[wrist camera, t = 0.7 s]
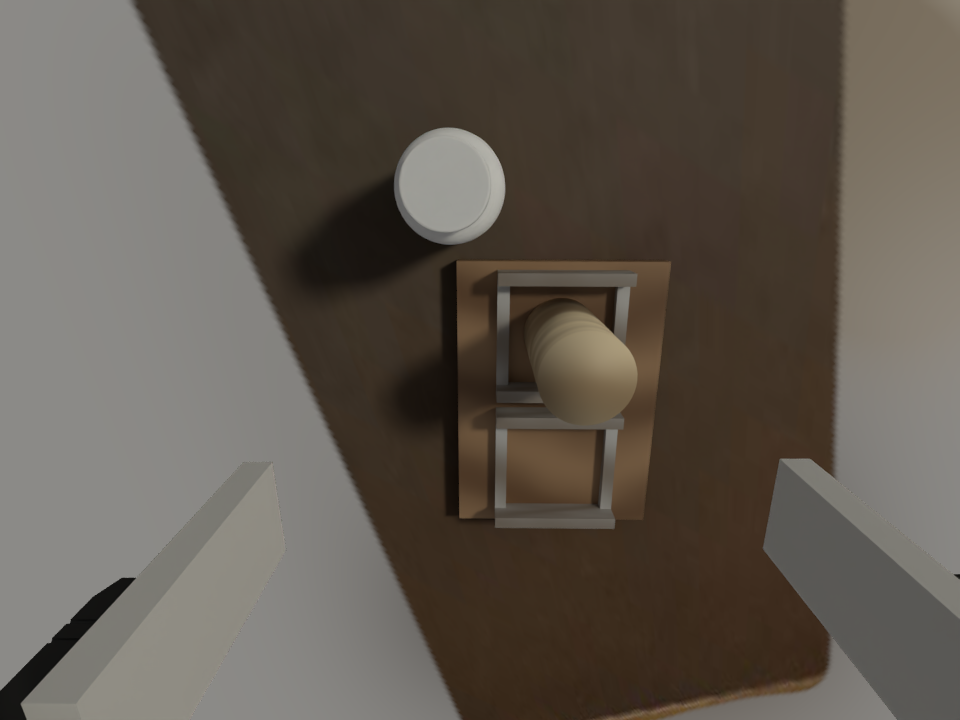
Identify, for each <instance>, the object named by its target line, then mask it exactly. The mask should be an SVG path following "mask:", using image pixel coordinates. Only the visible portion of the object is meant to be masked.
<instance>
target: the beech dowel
mask: <svg viewBox="0 0 960 720" xmlns="http://www.w3.org/2000/svg"><path fill="white" fill-rule="evenodd" d="M524 342H525V345H526V349H527V352H528V356H529V359H530V363H531V366H532V370H533V373H534V377H535V380H536V383H537V387H538V390H539V394H540V397H541V399H542V401H543V403H544V404H545V406H546V407H547V409H548V410H549V411H550V412H551V413H552V414H553V415H555V416H556V417H557V418H559V419H561V420H563V421H565V422H567V423H570V424H574V425H582V426H587V425H595V424H599V423H603V422H605V421H608V420H610V419H611V418H613V417H615V416H616V415H617V414H619V413H620V412H621V411H622V410H623V409H624V408H625V407H626V406H627V405H628V403H629V402H630V400H631V399H632V397H633V394H634V392H635V389H636V385H637V375H638V374H637V367H636V363H635V360H634V358H633V356H632V354H631V352H630V351H629V349H628V348H627V347H626V346H625V345H624V344H623V343H622V342H621V341H620V340H619V339H618V338H617V337H616V336H615V335H614V334H613V333H612V332H611V331H610V330H609V329H608V328H607V327H606V326H605V325H604V324H603V323H602V322H601V321H600V320H599V319H598V318H597V317H596V316H595V315H594V314H593V313H592V312H591V311H590V310H589V309H588V308H586V307H585V306H584V305H583V304H581V303H580V302H578V301H576V300H573V299H569V298H554V299H550V300H547V301H545V302H543V303H541V304H540V305H538V306H537V307H536V308H535V309H534V310H533V311H532V312H531V314H530V315H529V317H528V319H527V321H526V324H525V327H524Z"/></svg>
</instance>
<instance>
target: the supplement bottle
mask: <svg viewBox="0 0 960 720" xmlns="http://www.w3.org/2000/svg"><path fill="white" fill-rule="evenodd" d="M394 193H395V199H396V203H397V206H398V209H399V211H400V213H401V215H402V217H403V218H404V220H405V221H406V223H407V224H408V225H409V226H410V227H411V228H412V229H413V230H414V231H415V232H416V233H417V234H419V235H420V236H422V237H424V238H425V239H428V240H430V241H432V242H435V243H439V244H445V245H454V244H462V243H466V242H469V241H471V240H473V239H475V238H477V237H479V236H480V235H482V234H483V233H484V232H486V231H487V230H488V229H489V228H490V227H491V226H492V224H493V223H494V222H495V220H496V219H497V217H498V215H499V213H500V211H501V208H502V205H503V202H504V197H505V179H504V174H503V170H502V167H501V164H500V162H499V160H498V158H497V156H496V154H495V153H494V152H493V150H492V149H491V148H490V147H489V145H488V144H487V143H486V142H484V141H483V140H482V139H481V138H479V137H478V136H476V135H474V134H472V133H470V132H468V131H465V130H462V129H457V128H439V129H435V130H432V131H429V132H427V133H425V134H423V135H421V136H420V137H418V138H417V139H416V140H414V141H413V142H412V143H411V144H410V145H409V146H408V147H407V149H406V150H405V151H404V153H403V154H402V156H401V158H400V160H399V162H398V165H397V168H396V172H395V178H394Z"/></svg>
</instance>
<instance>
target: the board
mask: <svg viewBox="0 0 960 720" xmlns="http://www.w3.org/2000/svg"><path fill="white" fill-rule="evenodd" d="M670 268H671V262H669V261H666V260H498V259H458V260H457V344H458V436H459V518H489V519H495V528H576V529H614V527H615V520H643V516H644V506H645V497H646V488H647V479H648V470H649V460H650V451H651V442H652V433H653V424H654V415H655V405H656V396H657V387H658V378H659V369H660V359H661V350H662V341H663V332H664V323H665V314H666V304H667V295H668V286H669V277H670ZM554 298H569V299H573V300H576V301H578V302H580V303H581V304H583V305H584V306H585V307H586V308H588V309H589V310H590V311H591V312H592V313H593V314H594V315H595V316H596V317H597V318H598V319H599V320H600V321H601V322H602V323H603V324H604V325H605V326H606V327H607V328H608V329H609V330H610V331H611V332H612V333H613V334H614V335H615V336H616V337H617V338H618V339H619V340H620V341H621V342H622V343H623V344H624V345H625V346H626V347H627V348H628V349H629V351H630V352H631V354H632V356H633V358H634V360H635V363H636V367H637V374H638V375H637V385H636V389H635V392H634V394H633V397H632V399H631V400H630V402H629V403H628V405H627V406H626V407H625V408H624V409H623V410H622V411H621V412H620V413H619V414H617V415H616V416H615V417H613V418H611V419H610V420H608V421H605V422H603V423H599V424H595V425H587V426H582V425H574V424H570V423H567V422H565V421H563V420H561V419H559V418H557V417H556V416H555V415H553V414H552V413H551V412H550V411H549V410H548V409H547V407H546V406H545V404H544V403H543V401H542V399H541V397H540V394H539V390H538V387H537V383H536V380H535V377H534V373H533V370H532V366H531V363H530V359H529V356H528V352H527V349H526V345H525V342H524V327H525V324H526V321H527V319H528V317H529V315H530V314H531V312H532V311H533V310H534V309H535V308H536V307H537V306H538V305H540V304H541V303H543V302H545V301H547V300H550V299H554Z"/></svg>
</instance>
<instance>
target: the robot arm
mask: <svg viewBox="0 0 960 720" xmlns="http://www.w3.org/2000/svg"><path fill="white" fill-rule="evenodd" d="M763 550H764V551H765V552H766V553H767V555H768V556H769V557H770V559H771V560H772V561H773V562H774V564H775V565H776V566H777V567H778V569H779V570H780V571H781V572H782V574H783V575H784V576H785V578H786V579H787V580H788V581H789V583H790V584H791V585H792V586H793V588H794V589H795V590H796V592H797V593H798V594H799V595H800V597H801V598H802V599H803V600H804V602H805V603H806V604H807V606H808V607H809V608H810V609H811V611H812V612H813V613H814V614H815V616H816V617H817V618H818V619H819V621H820V622H821V623H822V625H823V626H824V627H825V628H826V630H827V631H828V632H829V633H830V635H831V636H832V637H833V639H834V640H835V641H836V642H837V644H838V645H839V646H840V647H841V649H842V650H843V651H844V652H845V654H846V655H847V656H848V658H849V659H850V660H851V661H852V663H853V664H854V665H855V666H856V668H857V669H858V670H859V671H860V673H861V674H862V675H863V677H864V678H865V679H866V680H867V682H868V683H869V684H870V686H871V687H872V688H873V689H874V691H875V692H876V693H877V694H878V696H879V697H880V698H881V699H882V701H883V702H884V703H885V705H886V706H887V707H888V708H889V710H890V711H891V712H892V714H893V715H894V716H895V717H896V719H897V720H960V574H952V573H951V572H950V571H948V570H947V569H946V568H945V567H943V566H942V565H941V564H940V563H938V562H937V561H936V560H935V559H933V558H932V557H931V556H930V555H929V554H927V553H926V552H925V551H924V550H922V549H921V548H920V547H919V546H917V545H916V544H915V543H914V542H912V541H911V540H910V539H909V538H907V537H906V536H905V535H904V534H902V533H901V532H900V531H899V530H897V529H896V528H895V527H894V526H893V525H891V524H890V523H889V522H888V521H886V520H885V519H884V518H882V517H881V516H880V515H879V514H878V513H876V512H875V511H874V510H873V509H871V508H870V507H869V506H868V505H866V504H865V503H864V502H863V501H862V500H860V499H859V498H858V497H857V496H855V495H854V494H853V493H852V492H850V491H849V490H848V489H847V488H845V487H844V486H843V485H842V484H841V483H839V482H838V481H837V480H836V479H834V478H833V477H832V476H831V475H829V474H828V473H827V472H826V471H824V470H823V469H822V468H821V467H819V466H818V465H817V464H816V463H815V462H813V461H812V460H811V459H780V461H779V466H778V471H777V477H776V482H775V487H774V493H773V498H772V503H771V509H770V514H769V520H768V525H767V530H766V536H765V541H764V546H763ZM285 551H286V546H285V539H284V533H283V527H282V520H281V514H280V508H279V501H278V495H277V488H276V482H275V475H274V469H273V463H272V462H243V463H242V464H241V465H240V466H239V467H238V468H237V470H236V471H235V472H234V473H233V474H232V475H231V476H230V477H229V478H228V479H227V481H225V483H224V484H223V485H222V486H221V487H220V488H219V489H218V490H217V491H216V493H214V494H213V496H212V497H211V498H210V499H209V500H208V501H207V502H206V503H205V504H204V505H203V506H202V507H201V509H200V510H199V511H198V512H197V513H196V514H195V515H194V516H193V517H192V518H191V519H190V521H189V522H188V523H187V524H186V525H185V526H184V527H183V528H182V529H181V530H180V531H179V533H178V534H177V535H176V536H175V537H174V538H173V539H172V540H171V541H170V542H169V543H168V544H167V545H166V547H165V548H164V549H163V550H162V551H161V552H160V553H159V554H158V555H157V556H156V558H154V560H153V561H152V562H151V563H150V564H149V565H148V566H147V567H146V568H145V569H144V570H143V572H142V573H141V574H140V575H139V576H138V577H137V578H121V579H119V580H118V581H117V582H115V583H113V584H112V585H110V586H109V587H107V588H106V589H104V590H103V591H101V592H100V593H98V594H97V595H95V596H94V597H92V599H91V600H90V601H89V602H88V603H87V604H86V605H85V606H84V607H83V608H82V609H81V610H80V611H79V612H78V613H77V614H76V615H75V616H74V617H73V618H72V619H71V622H70V624H66V625H65V626H64V627H63V628H62V629H61V630H60V631H59V632H58V633H57V634H56V635H55V636H54V637H53V638H52V642H51V643H47V644H46V645H45V646H44V647H43V648H42V649H41V650H40V651H39V652H38V653H37V654H36V655H35V656H34V657H33V658H32V659H31V660H30V661H29V662H28V663H27V664H26V665H25V666H24V667H23V668H22V669H21V670H20V671H19V672H18V673H17V674H16V676H15V677H14V678H12V680H11V681H10V682H9V683H8V684H7V685H6V686H5V687H4V688H3V689H2V690H1V691H0V720H190V718H191V717H192V715H193V713H194V711H195V710H196V708H197V706H198V704H199V702H200V700H201V699H202V697H203V696H204V694H205V692H206V690H207V688H208V687H209V685H210V683H211V682H212V680H213V678H214V676H215V674H216V673H217V671H218V669H219V667H220V665H221V664H222V662H223V660H224V659H225V657H226V655H227V653H228V652H229V650H230V648H231V646H232V645H233V643H234V641H235V639H236V638H237V636H238V634H239V632H240V630H241V629H242V627H243V625H244V624H245V622H246V620H247V618H248V617H249V615H250V613H251V611H252V610H253V608H254V606H255V604H256V603H257V601H258V599H259V597H260V595H261V594H262V592H263V590H264V589H265V587H266V585H267V583H268V581H269V580H270V578H271V576H272V574H273V573H274V571H275V569H276V567H277V566H278V564H279V562H280V560H281V559H282V557H283V555H284V553H285Z"/></svg>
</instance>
